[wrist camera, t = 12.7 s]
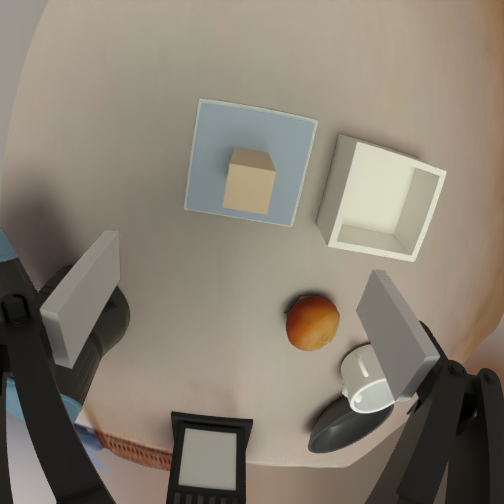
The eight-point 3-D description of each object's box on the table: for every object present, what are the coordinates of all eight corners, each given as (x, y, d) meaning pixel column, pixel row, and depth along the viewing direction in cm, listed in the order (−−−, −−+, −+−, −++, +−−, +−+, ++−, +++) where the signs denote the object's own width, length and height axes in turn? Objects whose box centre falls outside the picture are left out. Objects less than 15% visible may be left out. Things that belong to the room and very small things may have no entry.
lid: (187, 206, 39) (168, 244, 30) (202, 102, 34) (185, 104, 24) (289, 223, 41) (302, 265, 31) (313, 122, 35) (338, 133, 25)
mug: (322, 351, 52) (332, 392, 44) (375, 323, 50) (393, 362, 42) (347, 384, 57) (357, 421, 49) (394, 360, 54) (409, 396, 46)
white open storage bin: (315, 222, 41) (327, 246, 35) (338, 133, 36) (357, 141, 30) (393, 238, 43) (414, 262, 36) (419, 158, 37) (446, 171, 31)
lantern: (252, 419, 61) (256, 572, 30) (244, 452, 69) (244, 576, 38) (171, 411, 60) (149, 563, 29) (175, 446, 68) (161, 569, 37)
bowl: (291, 425, 63) (293, 448, 58) (361, 369, 55) (369, 393, 50) (329, 435, 66) (334, 456, 61) (398, 384, 58) (407, 406, 53)
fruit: (289, 282, 44) (324, 322, 39) (324, 282, 49) (357, 317, 44) (263, 323, 47) (292, 364, 42) (298, 320, 52) (327, 355, 47)
